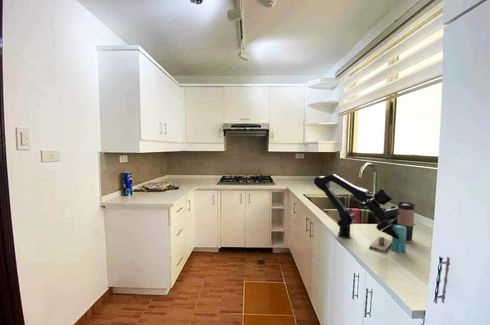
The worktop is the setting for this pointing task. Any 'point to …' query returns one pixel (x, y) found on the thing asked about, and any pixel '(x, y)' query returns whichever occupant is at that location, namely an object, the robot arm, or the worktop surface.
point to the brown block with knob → (381, 244)
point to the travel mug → (406, 218)
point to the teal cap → (400, 243)
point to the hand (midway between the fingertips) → (400, 236)
